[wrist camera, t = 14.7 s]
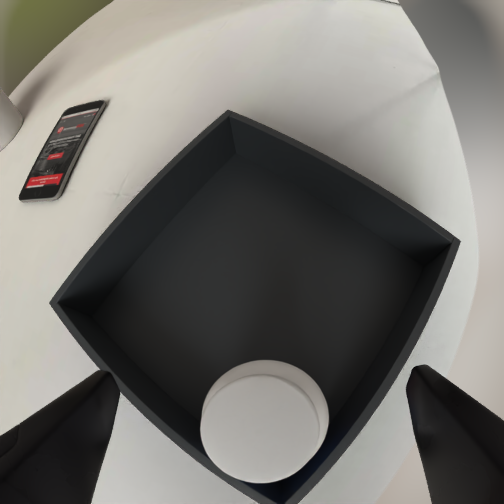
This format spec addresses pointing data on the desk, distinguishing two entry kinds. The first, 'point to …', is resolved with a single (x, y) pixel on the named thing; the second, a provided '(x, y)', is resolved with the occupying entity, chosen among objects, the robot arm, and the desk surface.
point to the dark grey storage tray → (257, 286)
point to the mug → (8, 120)
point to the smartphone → (60, 153)
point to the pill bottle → (263, 421)
